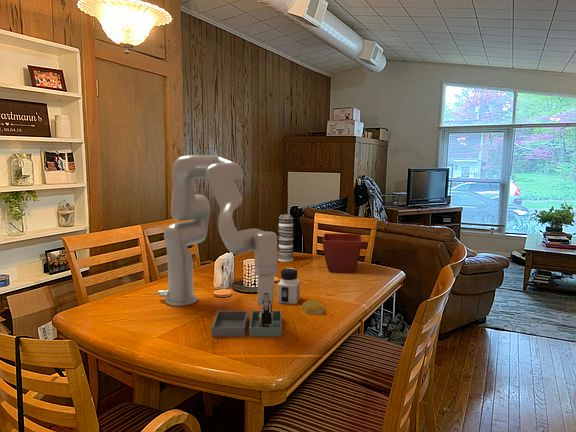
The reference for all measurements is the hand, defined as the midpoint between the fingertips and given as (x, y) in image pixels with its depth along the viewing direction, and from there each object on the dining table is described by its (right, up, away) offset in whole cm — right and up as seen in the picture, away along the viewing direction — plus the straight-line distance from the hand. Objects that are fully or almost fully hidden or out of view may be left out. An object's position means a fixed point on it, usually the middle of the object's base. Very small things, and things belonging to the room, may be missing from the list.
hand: (267, 318), depth 147 cm
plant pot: (+34, +7, +75) cm, 83 cm away
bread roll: (+16, -2, +17) cm, 24 cm away
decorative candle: (+6, +10, +94) cm, 95 cm away
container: (+7, 0, +29) cm, 30 cm away
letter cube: (0, -3, +1) cm, 3 cm away
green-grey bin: (0, -4, +1) cm, 4 cm away
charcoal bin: (-12, -4, +1) cm, 13 cm away
